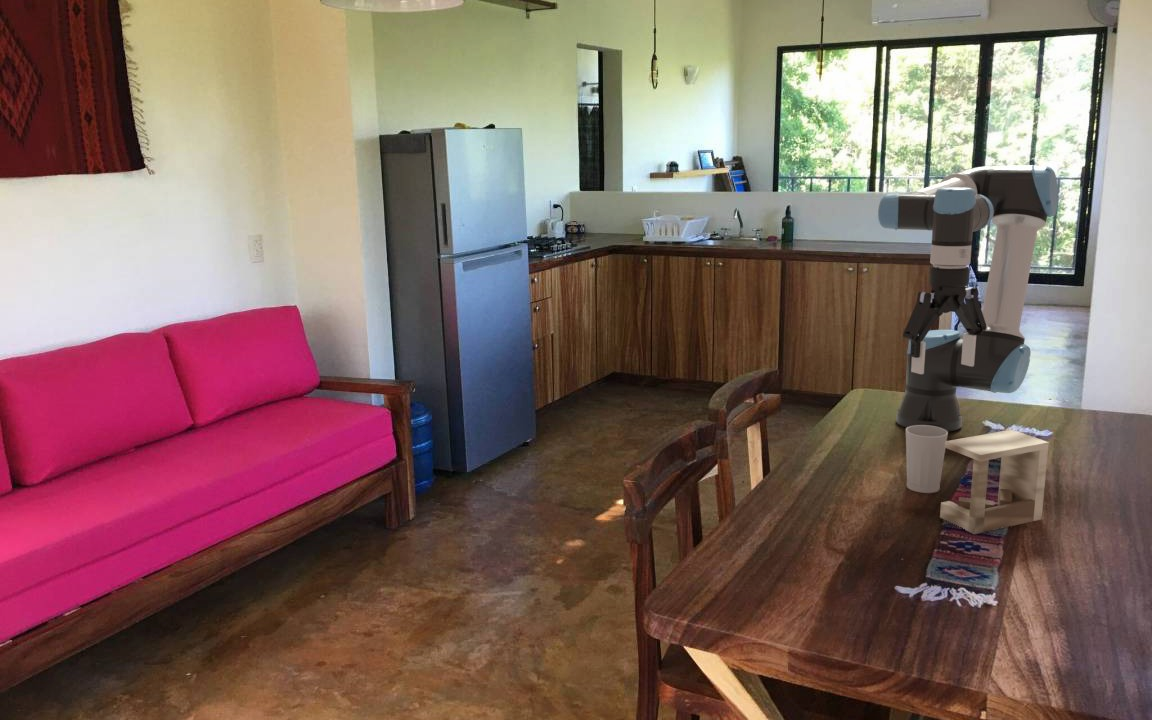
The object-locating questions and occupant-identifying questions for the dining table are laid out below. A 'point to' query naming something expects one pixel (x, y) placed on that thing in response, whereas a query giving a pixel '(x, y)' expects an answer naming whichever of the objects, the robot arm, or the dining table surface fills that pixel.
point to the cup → (925, 457)
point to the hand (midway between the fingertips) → (942, 369)
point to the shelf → (1000, 481)
